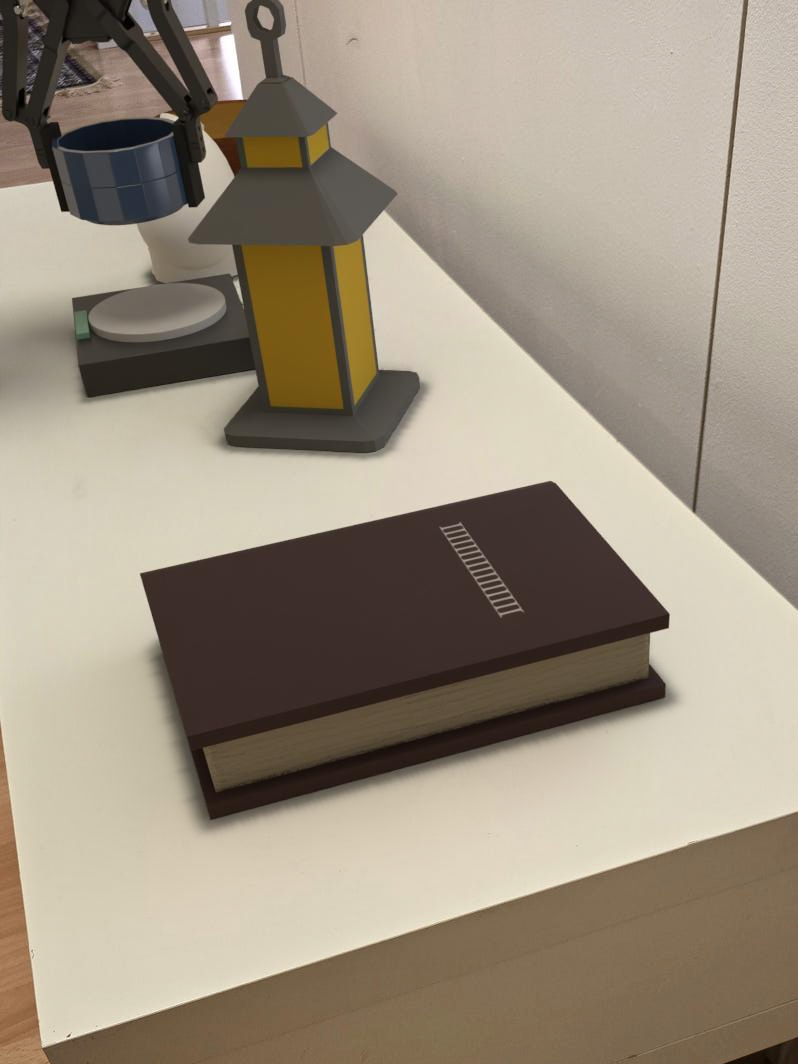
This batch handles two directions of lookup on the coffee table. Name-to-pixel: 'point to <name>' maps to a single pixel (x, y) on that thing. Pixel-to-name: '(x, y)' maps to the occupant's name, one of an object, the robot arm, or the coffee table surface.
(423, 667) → the book
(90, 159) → the glazed bowl
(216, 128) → the bowl
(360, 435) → the lantern
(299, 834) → the coffee table surface
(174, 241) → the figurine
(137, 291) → the scale
